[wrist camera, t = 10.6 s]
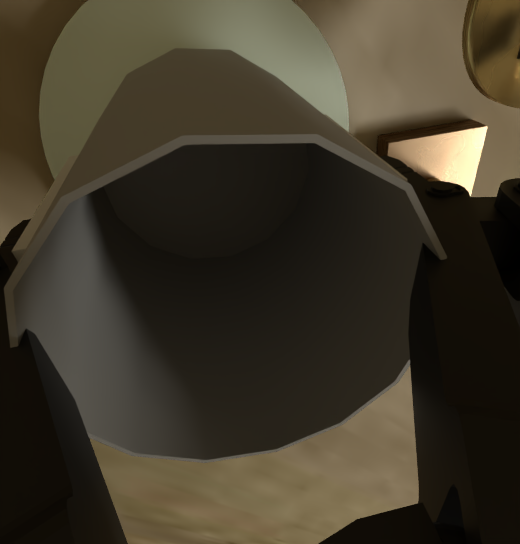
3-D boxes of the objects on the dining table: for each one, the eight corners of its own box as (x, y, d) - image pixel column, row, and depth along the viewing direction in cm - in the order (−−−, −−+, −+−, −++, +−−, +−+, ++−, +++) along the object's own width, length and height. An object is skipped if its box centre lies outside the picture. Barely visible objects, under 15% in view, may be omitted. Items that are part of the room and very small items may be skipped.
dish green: (108, 280, 21) (106, 294, 20) (-19, -13, 13) (-33, -13, 12) (337, 237, 22) (344, 248, 21) (342, -58, 14) (355, -61, 14)
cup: (70, 213, 16) (-32, 440, 8) (136, -6, 12) (69, 0, 4) (252, 273, 19) (309, 472, 11) (345, 117, 16) (529, 249, 8)
